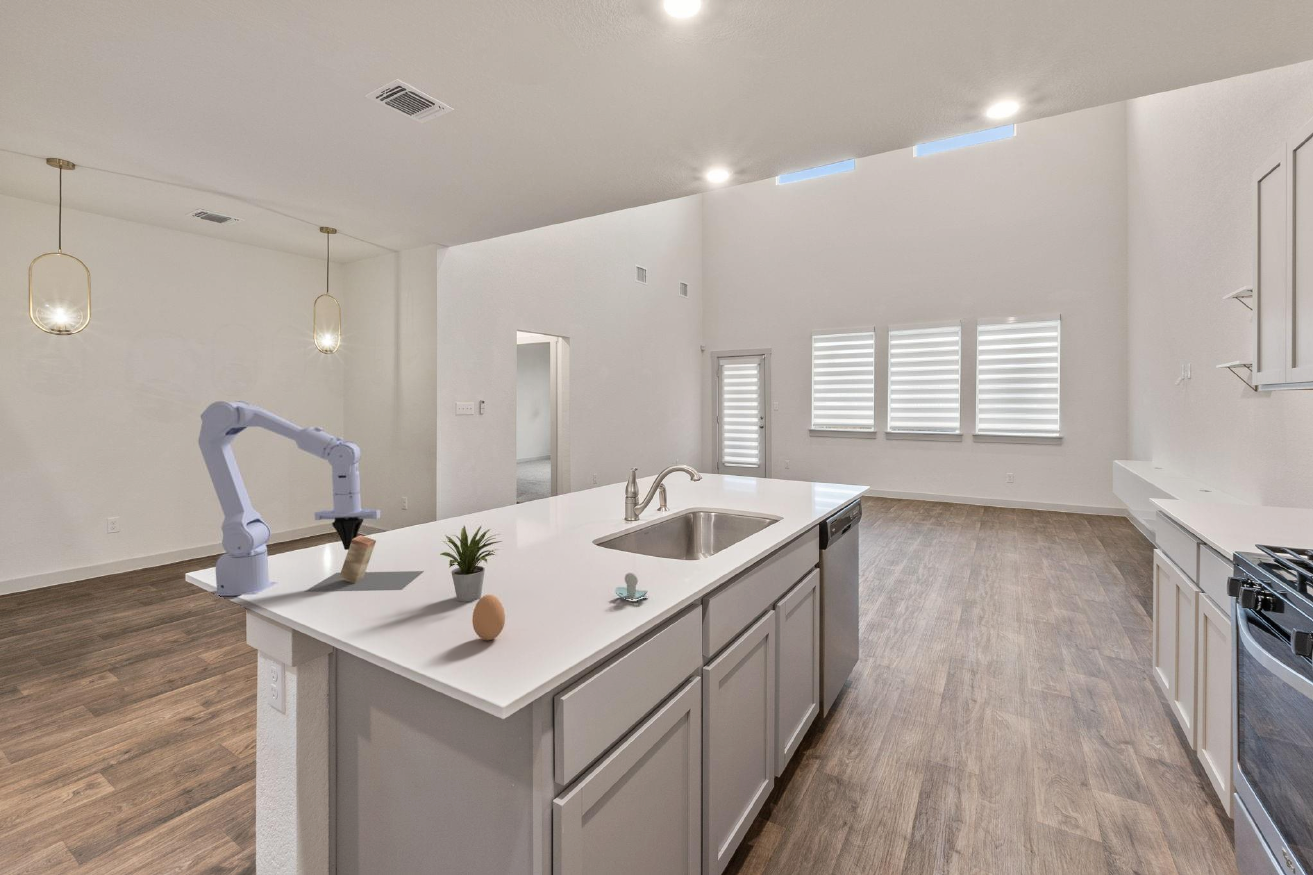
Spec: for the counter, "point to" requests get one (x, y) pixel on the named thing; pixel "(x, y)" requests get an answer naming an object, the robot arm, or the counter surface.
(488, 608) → the egg
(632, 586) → the pacifier
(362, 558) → the long block
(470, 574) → the house plant
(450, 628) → the counter surface
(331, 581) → the rubber mat
